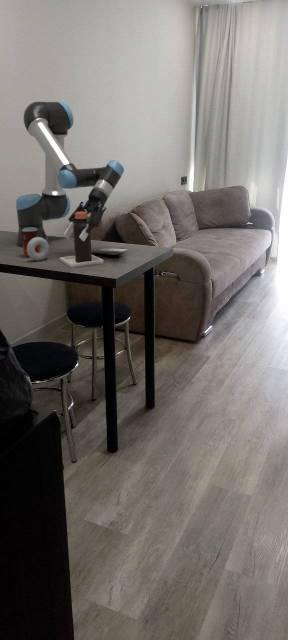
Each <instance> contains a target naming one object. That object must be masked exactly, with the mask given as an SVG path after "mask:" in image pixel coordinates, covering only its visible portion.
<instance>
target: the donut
mask: <svg viewBox="0 0 288 640" xmlns="http://www.w3.org/2000/svg"><path fill="white" fill-rule="evenodd" d="M37 245H40V246H39V247H40V252H39V253H37V252H36V251H35V247H36V246H37ZM27 253H28V255H29V257H28V258H30V259H31V260H34V261H43V260H44V259H46V258H47V256H48V255H49V253H50V245H49V242H48V243H47V241H46V240H45V239H44V238H41V237H35V238H33V239H31V240H30V242H29V243H28V245H27Z"/></svg>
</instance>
